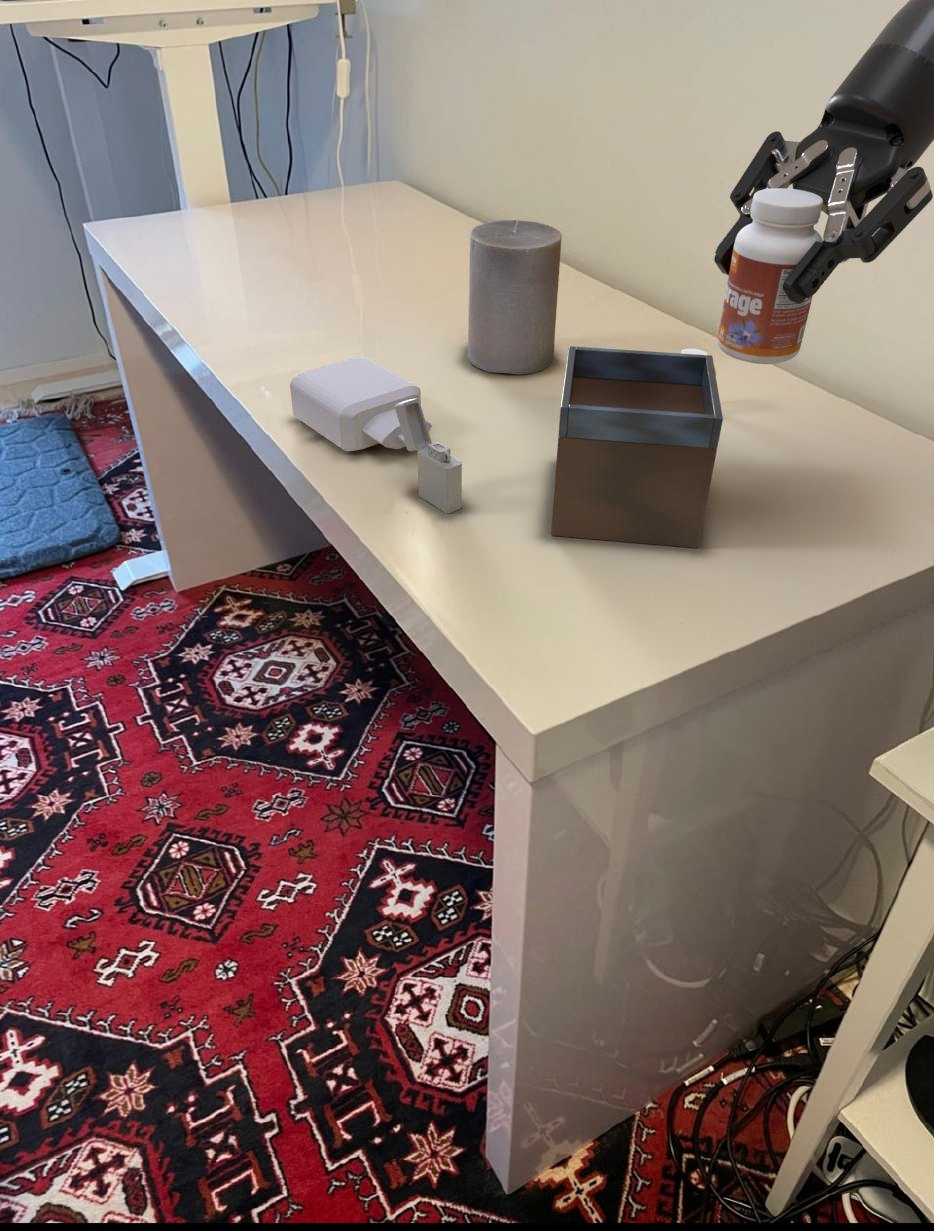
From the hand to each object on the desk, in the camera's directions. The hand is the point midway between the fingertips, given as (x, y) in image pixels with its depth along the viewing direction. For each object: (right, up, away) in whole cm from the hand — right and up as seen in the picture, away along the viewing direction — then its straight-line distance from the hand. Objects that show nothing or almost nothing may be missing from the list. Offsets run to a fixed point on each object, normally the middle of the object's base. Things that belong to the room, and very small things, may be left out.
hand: (755, 281), depth 69 cm
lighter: (-24, -14, +15) cm, 32 cm away
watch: (+2, -3, +29) cm, 30 cm away
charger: (-30, -7, +24) cm, 39 cm away
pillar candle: (-16, +5, +39) cm, 43 cm away
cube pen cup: (-7, -14, +14) cm, 21 cm away
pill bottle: (+1, -4, +4) cm, 6 cm away
